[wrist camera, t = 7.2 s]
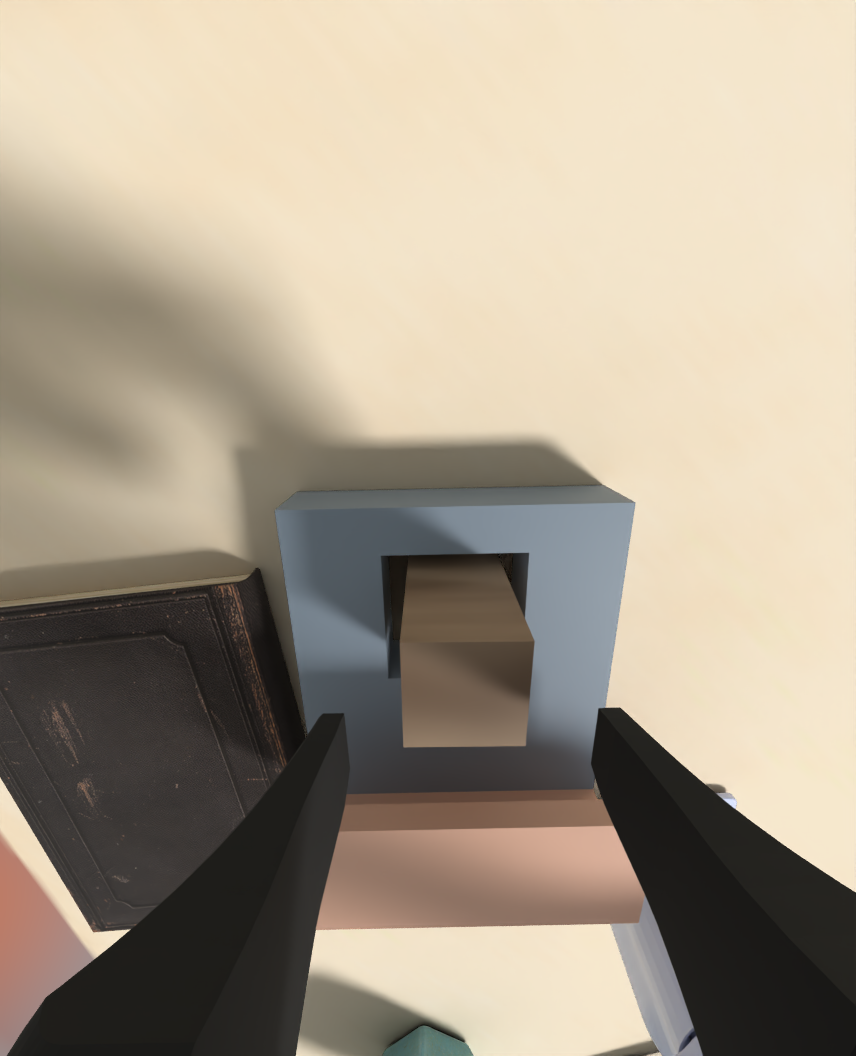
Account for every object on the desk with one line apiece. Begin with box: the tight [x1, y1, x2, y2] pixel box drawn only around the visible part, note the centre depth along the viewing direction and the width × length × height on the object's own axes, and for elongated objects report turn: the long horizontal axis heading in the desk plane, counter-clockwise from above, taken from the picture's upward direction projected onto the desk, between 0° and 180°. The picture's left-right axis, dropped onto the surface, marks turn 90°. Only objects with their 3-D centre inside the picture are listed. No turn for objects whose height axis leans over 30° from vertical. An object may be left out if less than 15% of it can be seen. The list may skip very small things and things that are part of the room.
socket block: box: [275, 485, 635, 794], centre depth 20 cm, size 16×14×3 cm
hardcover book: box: [0, 568, 305, 932], centre depth 24 cm, size 16×23×2 cm
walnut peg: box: [400, 553, 535, 747], centre depth 17 cm, size 4×4×8 cm
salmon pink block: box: [316, 789, 645, 930], centre depth 18 cm, size 6×14×5 cm, turn 91°
